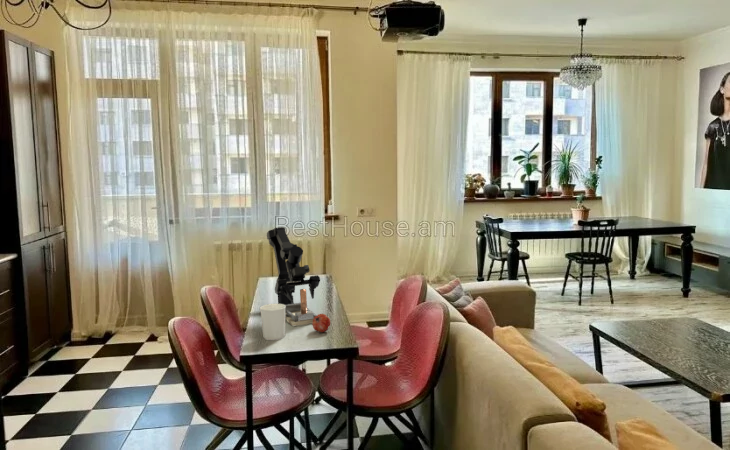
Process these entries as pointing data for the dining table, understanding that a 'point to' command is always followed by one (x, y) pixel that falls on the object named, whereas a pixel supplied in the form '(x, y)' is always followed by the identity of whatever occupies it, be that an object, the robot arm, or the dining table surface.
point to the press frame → (290, 314)
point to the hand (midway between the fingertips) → (302, 299)
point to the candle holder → (273, 321)
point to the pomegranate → (321, 323)
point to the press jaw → (303, 308)
